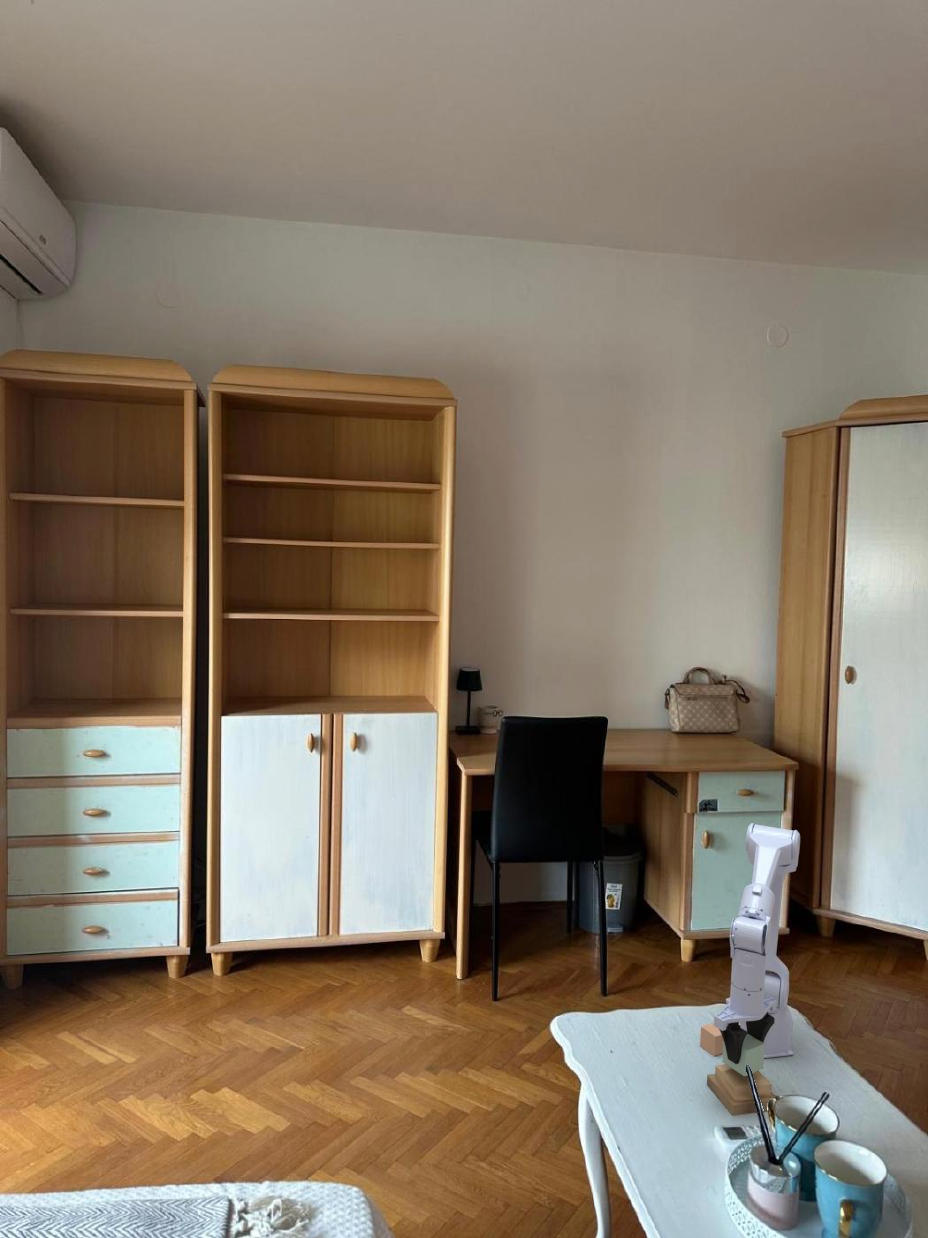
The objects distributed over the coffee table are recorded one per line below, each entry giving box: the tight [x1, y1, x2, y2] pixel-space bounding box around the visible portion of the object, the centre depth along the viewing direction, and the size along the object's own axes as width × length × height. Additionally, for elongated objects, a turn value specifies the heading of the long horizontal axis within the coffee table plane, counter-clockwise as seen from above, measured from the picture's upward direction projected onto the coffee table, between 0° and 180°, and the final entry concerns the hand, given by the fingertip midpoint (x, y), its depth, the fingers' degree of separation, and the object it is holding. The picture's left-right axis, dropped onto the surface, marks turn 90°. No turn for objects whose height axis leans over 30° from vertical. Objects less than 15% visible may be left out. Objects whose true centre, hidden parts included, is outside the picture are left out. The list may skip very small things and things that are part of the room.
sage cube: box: [721, 1034, 765, 1076], centre depth 155 cm, size 5×5×5 cm
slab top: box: [714, 1063, 772, 1101], centre depth 156 cm, size 7×7×2 cm
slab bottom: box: [706, 1073, 776, 1116], centre depth 156 cm, size 9×9×2 cm
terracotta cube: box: [699, 1022, 724, 1057], centre depth 171 cm, size 4×4×4 cm
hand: (743, 1056), depth 155 cm, fingers closed on sage cube, 5 cm apart
